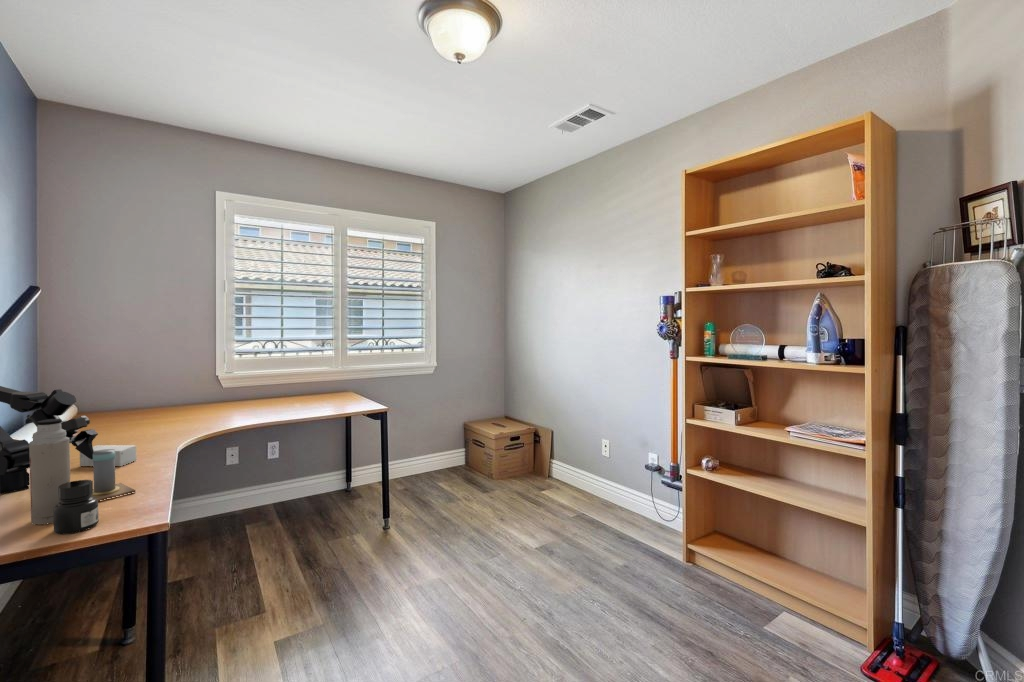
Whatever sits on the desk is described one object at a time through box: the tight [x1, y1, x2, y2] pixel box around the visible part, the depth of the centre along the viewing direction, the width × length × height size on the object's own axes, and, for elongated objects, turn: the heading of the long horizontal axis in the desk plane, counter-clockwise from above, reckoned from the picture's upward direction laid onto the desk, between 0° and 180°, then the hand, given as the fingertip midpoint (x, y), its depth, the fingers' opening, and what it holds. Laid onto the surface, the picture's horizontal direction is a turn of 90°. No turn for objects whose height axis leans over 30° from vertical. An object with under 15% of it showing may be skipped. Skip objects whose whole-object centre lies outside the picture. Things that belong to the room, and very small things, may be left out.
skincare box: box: [79, 444, 138, 467], centre depth 182 cm, size 8×7×16 cm
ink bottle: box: [53, 479, 100, 535], centre depth 126 cm, size 10×9×12 cm
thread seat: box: [92, 482, 136, 501], centre depth 150 cm, size 12×12×2 cm
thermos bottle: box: [28, 418, 71, 525], centre depth 131 cm, size 8×8×28 cm
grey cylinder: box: [92, 449, 116, 493], centre depth 150 cm, size 5×5×12 cm
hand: (80, 461), depth 151 cm, fingers open, 9 cm apart
